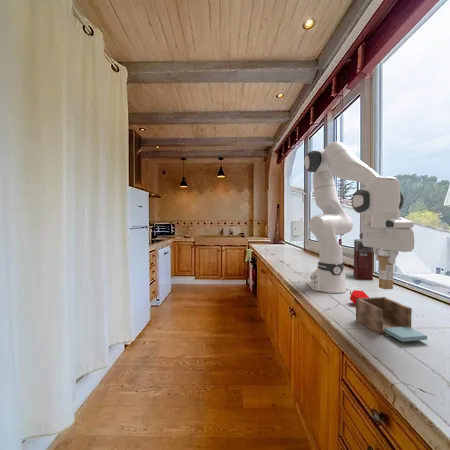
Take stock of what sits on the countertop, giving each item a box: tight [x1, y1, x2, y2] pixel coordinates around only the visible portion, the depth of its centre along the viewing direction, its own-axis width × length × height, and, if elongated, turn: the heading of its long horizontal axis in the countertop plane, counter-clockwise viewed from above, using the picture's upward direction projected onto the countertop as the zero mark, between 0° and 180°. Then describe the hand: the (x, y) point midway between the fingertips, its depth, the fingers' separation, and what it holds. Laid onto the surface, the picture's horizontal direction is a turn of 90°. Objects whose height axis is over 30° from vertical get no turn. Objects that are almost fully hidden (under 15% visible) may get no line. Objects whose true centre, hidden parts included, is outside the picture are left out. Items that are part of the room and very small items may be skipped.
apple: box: [349, 289, 370, 306], centre depth 112 cm, size 7×7×8 cm
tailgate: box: [384, 326, 428, 342], centre depth 81 cm, size 1×8×7 cm
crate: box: [355, 296, 413, 335], centre depth 90 cm, size 12×11×8 cm
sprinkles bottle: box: [378, 249, 394, 290], centre depth 91 cm, size 5×5×14 cm
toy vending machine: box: [353, 231, 374, 281], centre depth 158 cm, size 9×11×28 cm
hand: (385, 262), depth 91 cm, fingers closed on sprinkles bottle, 4 cm apart
